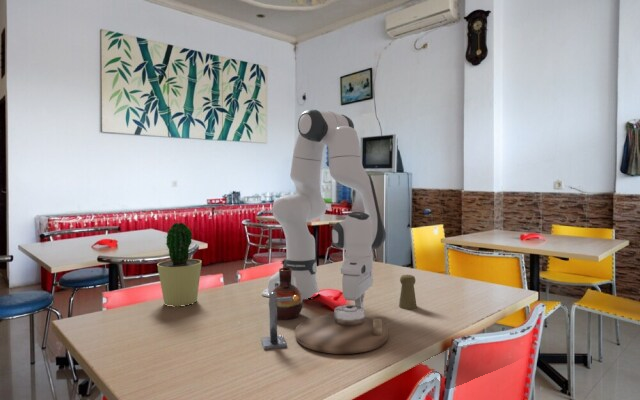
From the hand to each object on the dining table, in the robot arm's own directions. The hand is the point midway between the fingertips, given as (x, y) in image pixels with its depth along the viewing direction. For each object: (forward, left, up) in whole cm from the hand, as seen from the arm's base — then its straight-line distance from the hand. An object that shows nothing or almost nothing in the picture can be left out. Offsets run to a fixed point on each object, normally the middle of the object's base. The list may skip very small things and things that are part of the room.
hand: (359, 306), depth 130 cm
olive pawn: (+12, +18, -4) cm, 22 cm away
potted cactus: (-66, -7, -4) cm, 67 cm away
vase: (-23, -6, -4) cm, 24 cm away
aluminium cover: (0, -9, -2) cm, 10 cm away
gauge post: (-14, -27, -4) cm, 30 cm away
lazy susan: (0, -16, -4) cm, 17 cm away
